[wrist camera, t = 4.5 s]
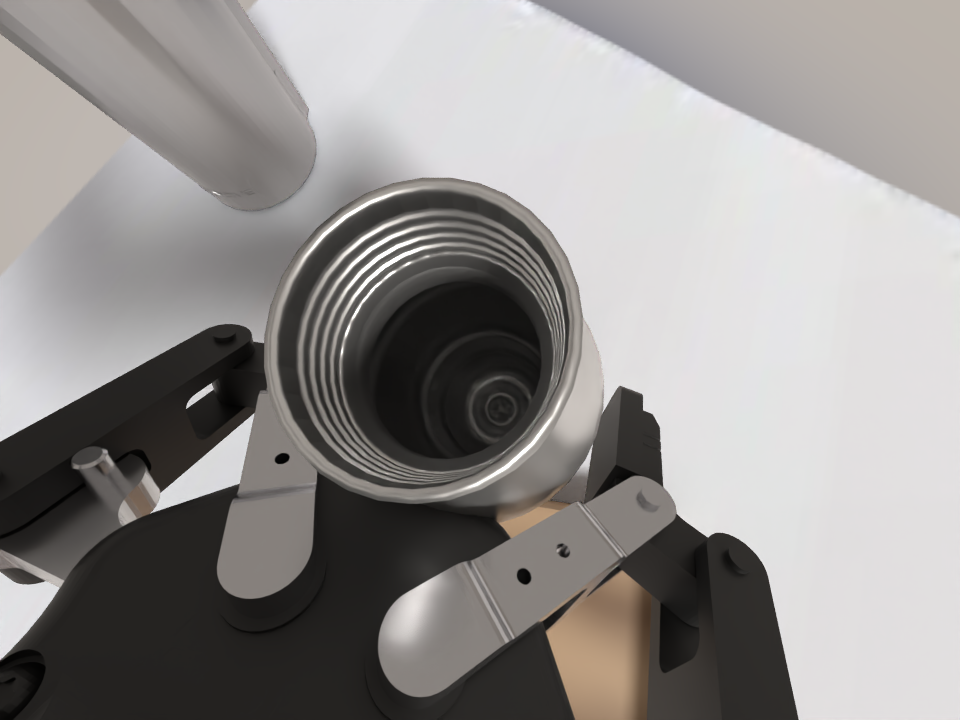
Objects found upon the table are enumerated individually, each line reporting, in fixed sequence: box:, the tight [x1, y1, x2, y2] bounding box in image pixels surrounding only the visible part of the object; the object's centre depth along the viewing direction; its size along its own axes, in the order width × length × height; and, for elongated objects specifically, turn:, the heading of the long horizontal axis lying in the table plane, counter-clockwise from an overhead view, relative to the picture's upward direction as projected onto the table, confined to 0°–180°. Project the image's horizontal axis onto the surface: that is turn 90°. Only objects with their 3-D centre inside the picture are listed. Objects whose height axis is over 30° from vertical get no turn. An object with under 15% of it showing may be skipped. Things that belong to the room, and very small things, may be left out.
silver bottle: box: [264, 178, 604, 523], centre depth 14 cm, size 6×7×20 cm
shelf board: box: [499, 500, 652, 720], centre depth 19 cm, size 20×12×2 cm, turn 173°
